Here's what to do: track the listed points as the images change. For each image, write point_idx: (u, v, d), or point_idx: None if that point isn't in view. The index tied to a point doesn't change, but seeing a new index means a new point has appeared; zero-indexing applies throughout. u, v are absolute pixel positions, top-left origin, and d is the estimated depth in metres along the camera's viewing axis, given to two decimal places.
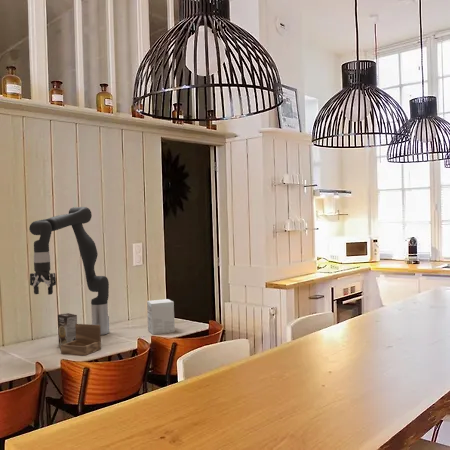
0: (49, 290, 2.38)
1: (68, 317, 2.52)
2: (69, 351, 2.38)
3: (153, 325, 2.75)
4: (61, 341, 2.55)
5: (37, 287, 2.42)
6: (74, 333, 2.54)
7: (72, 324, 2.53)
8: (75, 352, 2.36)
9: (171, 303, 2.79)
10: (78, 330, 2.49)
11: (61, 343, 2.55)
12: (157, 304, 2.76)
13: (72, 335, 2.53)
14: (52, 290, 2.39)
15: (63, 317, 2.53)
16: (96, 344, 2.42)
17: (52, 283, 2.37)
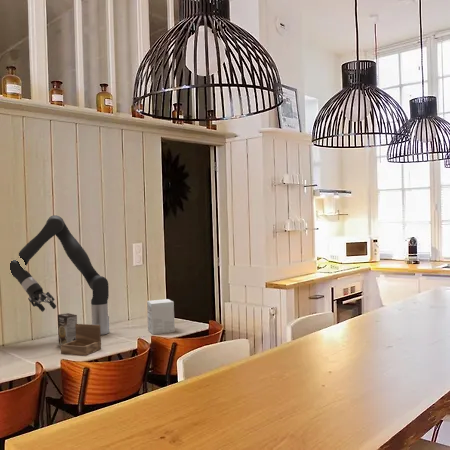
0: (40, 308, 2.57)
1: (68, 317, 2.52)
2: (69, 351, 2.38)
3: (153, 325, 2.75)
4: (61, 341, 2.55)
5: (51, 303, 2.65)
6: (74, 333, 2.54)
7: (72, 324, 2.53)
8: (75, 352, 2.36)
9: (171, 303, 2.79)
10: (78, 330, 2.49)
11: (61, 343, 2.55)
12: (157, 304, 2.76)
13: (72, 335, 2.53)
14: (40, 307, 2.56)
15: (63, 317, 2.53)
16: (96, 344, 2.42)
17: None
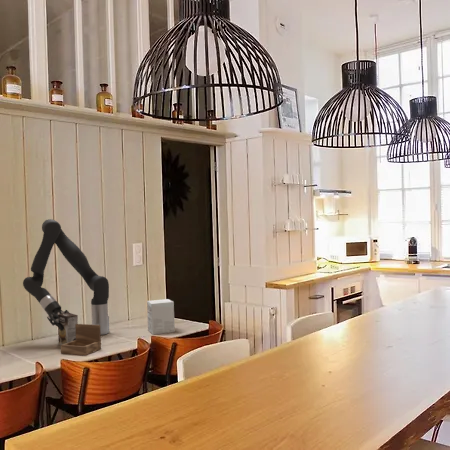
0: (59, 327, 2.52)
1: (69, 317, 2.51)
2: (69, 351, 2.38)
3: (153, 325, 2.75)
4: (61, 341, 2.54)
5: None
6: (74, 333, 2.54)
7: (72, 324, 2.53)
8: (75, 352, 2.36)
9: (171, 303, 2.79)
10: (78, 330, 2.49)
11: (61, 343, 2.54)
12: (157, 304, 2.76)
13: (72, 335, 2.53)
14: (59, 326, 2.51)
15: (64, 317, 2.52)
16: (96, 344, 2.42)
17: None
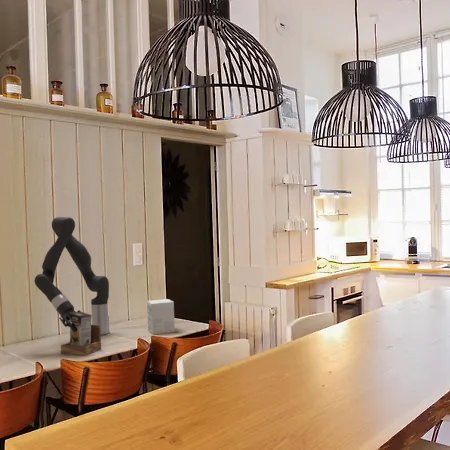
0: (72, 329, 2.38)
1: (82, 317, 2.37)
2: (69, 351, 2.38)
3: (153, 325, 2.75)
4: (73, 342, 2.40)
5: None
6: (88, 334, 2.40)
7: (86, 325, 2.39)
8: (75, 352, 2.36)
9: (171, 303, 2.79)
10: None
11: (73, 343, 2.40)
12: (157, 304, 2.76)
13: (85, 336, 2.39)
14: (73, 328, 2.37)
15: (77, 317, 2.38)
16: (96, 344, 2.42)
17: (64, 325, 2.37)
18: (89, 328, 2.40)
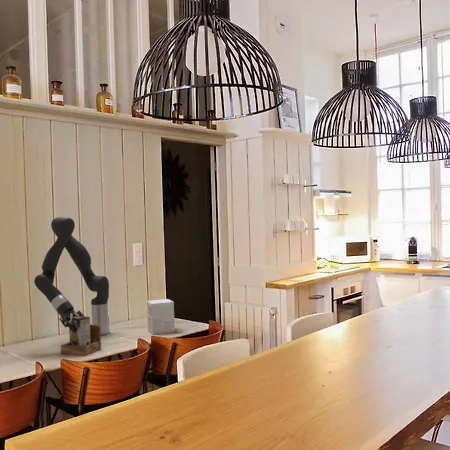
0: (72, 329, 2.38)
1: (81, 319, 2.38)
2: (69, 351, 2.38)
3: (153, 325, 2.75)
4: None
5: None
6: (87, 336, 2.40)
7: (85, 327, 2.39)
8: (75, 352, 2.36)
9: (171, 303, 2.79)
10: None
11: None
12: (157, 304, 2.76)
13: (85, 339, 2.39)
14: (72, 328, 2.37)
15: (76, 320, 2.38)
16: (96, 344, 2.42)
17: (64, 325, 2.37)
18: (88, 330, 2.41)
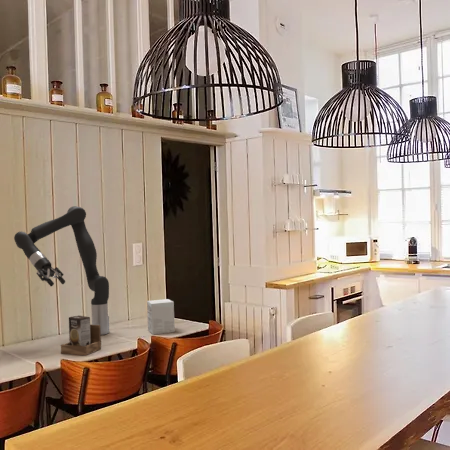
0: None
1: (82, 319, 2.38)
2: (69, 351, 2.38)
3: (153, 325, 2.75)
4: None
5: (60, 278, 2.56)
6: (87, 336, 2.41)
7: (85, 327, 2.40)
8: (75, 352, 2.36)
9: (171, 303, 2.79)
10: None
11: None
12: (157, 304, 2.76)
13: (85, 338, 2.39)
14: (49, 282, 2.47)
15: (76, 320, 2.39)
16: (96, 344, 2.42)
17: (41, 279, 2.47)
18: (88, 330, 2.41)
